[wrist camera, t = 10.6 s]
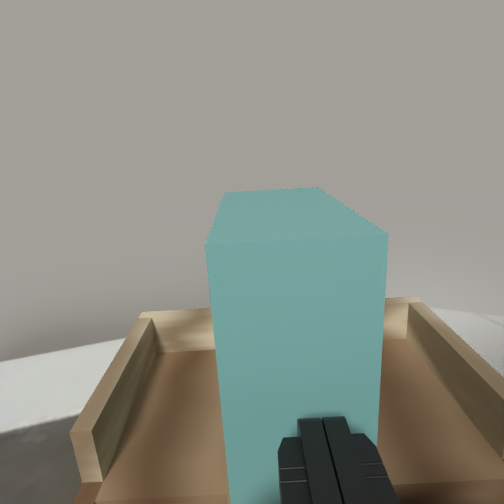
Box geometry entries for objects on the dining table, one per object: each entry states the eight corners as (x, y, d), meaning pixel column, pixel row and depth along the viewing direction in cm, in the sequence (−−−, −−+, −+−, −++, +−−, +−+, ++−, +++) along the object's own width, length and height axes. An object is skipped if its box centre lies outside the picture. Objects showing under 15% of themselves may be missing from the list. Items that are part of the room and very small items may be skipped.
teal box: (318, 351, 27) (317, 187, 23) (373, 508, 16) (388, 233, 12) (237, 356, 27) (224, 192, 23) (231, 517, 16) (204, 244, 12)
